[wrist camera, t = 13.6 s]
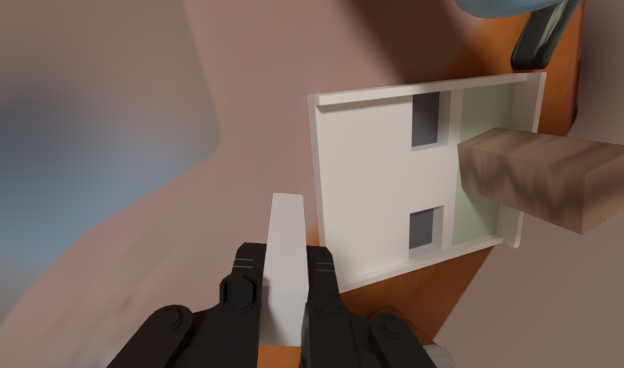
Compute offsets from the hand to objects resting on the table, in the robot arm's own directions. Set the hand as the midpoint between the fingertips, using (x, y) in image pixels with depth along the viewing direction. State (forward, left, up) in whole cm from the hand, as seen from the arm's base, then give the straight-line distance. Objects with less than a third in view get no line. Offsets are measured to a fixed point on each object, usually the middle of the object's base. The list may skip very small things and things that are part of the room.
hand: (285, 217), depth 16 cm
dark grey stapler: (-12, +44, -22) cm, 51 cm away
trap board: (+8, +24, -22) cm, 33 cm away
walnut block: (+7, +34, -19) cm, 39 cm away
